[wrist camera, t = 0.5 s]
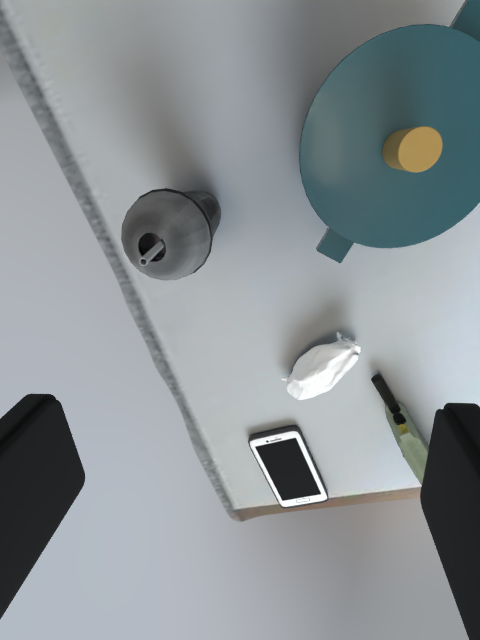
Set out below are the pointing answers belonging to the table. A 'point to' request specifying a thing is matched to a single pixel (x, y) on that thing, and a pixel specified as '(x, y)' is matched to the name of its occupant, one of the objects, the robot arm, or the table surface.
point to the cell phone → (288, 467)
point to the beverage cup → (170, 232)
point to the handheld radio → (404, 430)
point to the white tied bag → (322, 368)
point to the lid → (396, 138)
